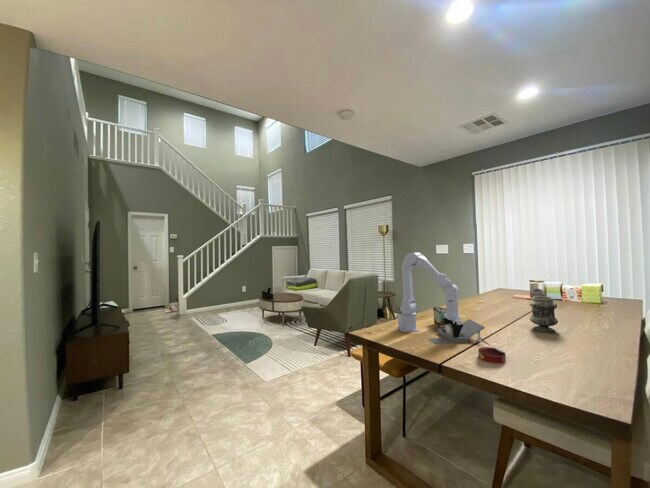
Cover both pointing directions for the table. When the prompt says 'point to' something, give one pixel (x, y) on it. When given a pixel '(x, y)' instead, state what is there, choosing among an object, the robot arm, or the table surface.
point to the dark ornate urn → (543, 313)
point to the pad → (438, 340)
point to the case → (464, 332)
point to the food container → (439, 316)
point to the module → (449, 330)
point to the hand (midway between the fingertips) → (452, 334)
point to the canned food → (491, 354)
